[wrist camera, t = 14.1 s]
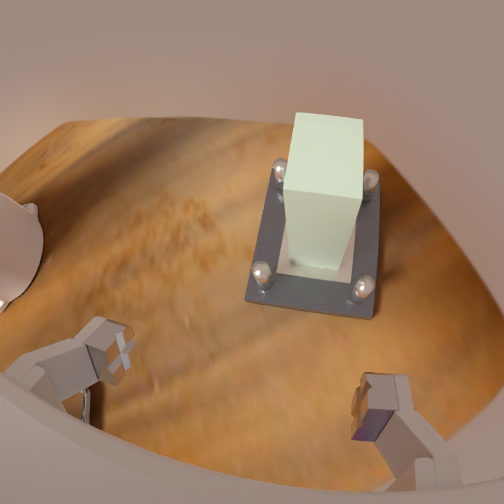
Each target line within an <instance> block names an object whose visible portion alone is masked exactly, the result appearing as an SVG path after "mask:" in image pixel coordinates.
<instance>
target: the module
mask: <svg viewBox="0 0 504 504" xmlns="http://www.w3.org/2000/svg"><path fill="white" fill-rule="evenodd" d="M362 195H363V120H361V119H354V118H347V117H339V116H330V115H321V114H311V113H299V112H296V117H295V123H294V128H293V134H292V140H291V146H290V151H289V157H288V163H287V168H286V174H285V179H284V185H283V196H284V205H285V215H286V225H287V235H288V245H289V256H290V263H293V264H300V265H308V266H315V267H322V268H329V269H336V270H339V267H340V264H341V261H342V259H343V256H344V253H345V250H346V247H347V244H348V241H349V239H350V236H351V233H352V230H353V227H354V224H355V221H356V218H357V215H358V211H359V208H360V205H361V202H362Z"/></svg>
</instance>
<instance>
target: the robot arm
mask: <svg viewBox="0 0 504 504" xmlns="http://www.w3.org/2000/svg"><path fill="white" fill-rule="evenodd" d="M42 250H43V232H42V228H41V225H40V223H39V221H38V207H37V205H35V204H33V203H29V204H25V205H20V204H18V203H17V202H15V201H14V200H12V199H11V198H9V197H8V196H6V195H5V194H3V193H0V313H1V312H3V311H4V310H5V308H6V307H7V305H8V304H9V303H10V302H11V301H12V300H13V299H15V298H17V297H18V296H20V295H21V294H22V293H23V292H24V291H25V290H26V288H27V287H28V286H29V284H30V283H31V281H32V279H33V277H34V275H35V273H36V271H37V268H38V266H39V263H40V259H41V255H42ZM133 336H134V332H133V328H132V327H131V326H128V325H125V324H122V323H119V322H116V321H113V320H110V319H106V318H104V317H101V316H96V317H94V318H93V319H92V320H91V321H90V322H89V323H88V324H87V325H86V326H85V327H84V328H83V329H82V330H81V331H80V332H79V333H78V334H77V335H76V336H75V337H74V338H73V339H70V338H69V339H66V340H63V341H61V342H58V343H55V344H52V345H49V346H46V347H43V348H40V349H37V350H34V351H31V352H29V353H26V354H23V355H21V356H20V357H19V358H18V359H17V360H16V361H15V362H14V363H13V364H12V365H11V366H10V367H9V368H8V369H7V370H6V371H5V372H4V373H2V372H0V504H504V477H503V478H498V479H494V480H489V481H485V482H480V483H474V484H468V485H462V479H461V473H460V467H459V460H458V455H457V454H456V452H454V450H453V449H452V448H451V447H450V446H449V445H448V444H447V443H446V442H445V440H444V439H443V438H442V437H441V436H440V435H439V434H438V433H437V432H436V431H435V430H434V428H433V427H432V426H431V425H430V424H429V423H428V422H427V421H426V420H425V419H424V418H423V416H422V415H421V414H420V413H419V412H414V407H413V402H412V396H411V391H410V386H409V380H408V377H407V375H400V374H385V373H373V372H364V373H363V374H362V376H361V379H360V386H359V387H358V388H356V391H355V393H354V396H353V400H352V407H351V414H352V415H353V417H354V420H353V422H352V424H351V440H356V441H367V442H375V443H374V444H375V445H376V447H377V448H378V450H379V452H380V453H381V455H382V457H383V458H384V460H385V462H386V463H387V465H388V466H389V468H390V470H391V471H392V473H393V475H394V476H395V478H396V481H395V482H394V483H393V484H392V485H391V486H390V487H389V488H387V489H386V490H385V491H384V492H352V491H334V490H321V489H311V488H302V487H294V486H287V485H280V484H274V483H268V482H262V481H257V480H252V479H247V478H242V477H238V476H233V475H229V474H225V473H221V472H217V471H213V470H209V469H206V468H202V467H198V466H195V465H192V464H188V463H185V462H182V461H179V460H176V459H172V458H169V457H167V456H164V455H161V454H158V453H155V452H152V451H150V450H147V449H144V448H142V447H139V446H137V445H134V444H132V443H129V442H127V441H124V440H122V439H120V438H117V437H115V436H113V435H110V434H108V433H106V432H104V431H102V430H99V429H97V428H95V427H93V426H91V425H89V424H87V423H85V422H83V421H81V420H79V419H77V418H75V417H73V416H71V415H69V414H68V413H67V412H66V409H65V407H64V405H63V404H62V402H61V401H63V400H65V399H67V398H69V397H71V396H72V395H74V394H76V393H78V392H80V391H82V390H83V389H85V388H87V387H89V386H91V385H93V384H94V383H96V382H98V380H100V381H102V382H105V383H108V384H111V385H113V386H116V387H117V386H118V385H119V383H120V382H121V381H122V379H123V378H124V376H125V370H126V369H128V368H130V367H132V365H133V364H134V362H135V360H136V356H137V345H136V343H135V342H134V340H133V339H132V337H133Z"/></svg>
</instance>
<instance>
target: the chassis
mask: <svg viewBox="0 0 504 504" xmlns="http://www.w3.org/2000/svg"><path fill="white" fill-rule="evenodd" d="M287 163H288V161H287V160H286V159H282V158H280V159H277V160H276V161H275V162H274V168H272V171H271V176H270V181H269V186H268V190H267V195H266V200H265V205H264V210H263V214H262V219H261V224H260V229H259V233H258V238H257V243H256V248H255V252H254V257H253V262H252V266H251V271H250V276H249V281H248V285H247V290H246V295H245V301H246V302H250V303H256V304H262V305H268V306H274V307H280V308H287V309H293V310H300V311H306V312H313V313H320V314H327V315H334V316H341V317H349V318H356V319H364V320H371V319H372V317H373V308H374V298H375V287H376V276H377V262H378V244H379V219H380V182H378V180H379V174H378V173H377V172H376V171H375V170H372V169H370V170H367V171H366V172H365V174H364V178H363V195H362V202H361V205H360V208H359V211H358V215H357V218H356V221H355V224H354V227H353V230H352V233H351V236H350V239H349V241H348V244H347V247H346V250H345V253H344V256H343V259H342V261H341V264H340V267H339V270H336V269H329V268H322V267H315V266H308V265H300V264H293V263H290V256H289V245H288V235H287V225H286V215H285V205H284V196H283V185H284V179H285V174H286V168H287Z"/></svg>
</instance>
